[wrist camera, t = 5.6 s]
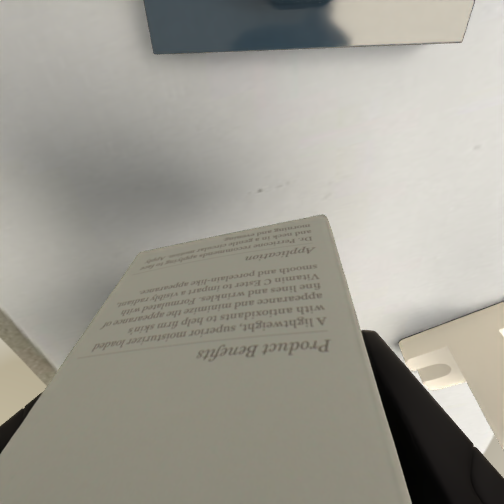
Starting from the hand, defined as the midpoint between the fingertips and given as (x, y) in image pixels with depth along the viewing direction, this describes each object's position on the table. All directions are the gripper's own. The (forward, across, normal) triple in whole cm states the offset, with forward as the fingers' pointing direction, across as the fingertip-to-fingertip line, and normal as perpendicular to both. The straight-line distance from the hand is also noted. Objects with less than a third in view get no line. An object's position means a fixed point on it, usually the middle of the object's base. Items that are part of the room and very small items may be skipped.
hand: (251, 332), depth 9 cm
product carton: (+2, 0, 0) cm, 2 cm away
